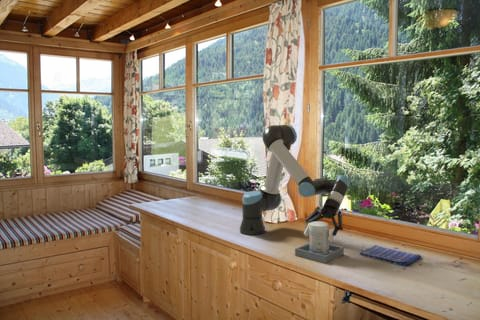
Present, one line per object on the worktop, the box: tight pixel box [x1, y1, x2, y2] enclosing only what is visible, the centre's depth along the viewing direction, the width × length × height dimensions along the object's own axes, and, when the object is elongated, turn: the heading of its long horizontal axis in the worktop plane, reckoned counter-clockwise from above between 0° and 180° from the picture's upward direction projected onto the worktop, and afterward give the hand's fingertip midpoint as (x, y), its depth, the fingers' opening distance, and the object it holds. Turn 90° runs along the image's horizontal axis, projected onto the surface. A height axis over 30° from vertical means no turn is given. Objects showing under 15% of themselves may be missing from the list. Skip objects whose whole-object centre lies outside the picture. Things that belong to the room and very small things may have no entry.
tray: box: [294, 242, 345, 264], centre depth 193 cm, size 17×17×3 cm
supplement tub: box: [308, 220, 330, 255], centre depth 192 cm, size 10×10×15 cm
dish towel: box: [359, 244, 422, 268], centre depth 189 cm, size 17×24×3 cm
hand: (317, 237), depth 190 cm, fingers open, 13 cm apart
